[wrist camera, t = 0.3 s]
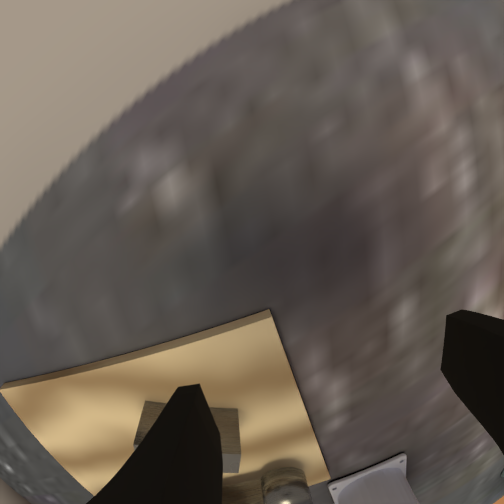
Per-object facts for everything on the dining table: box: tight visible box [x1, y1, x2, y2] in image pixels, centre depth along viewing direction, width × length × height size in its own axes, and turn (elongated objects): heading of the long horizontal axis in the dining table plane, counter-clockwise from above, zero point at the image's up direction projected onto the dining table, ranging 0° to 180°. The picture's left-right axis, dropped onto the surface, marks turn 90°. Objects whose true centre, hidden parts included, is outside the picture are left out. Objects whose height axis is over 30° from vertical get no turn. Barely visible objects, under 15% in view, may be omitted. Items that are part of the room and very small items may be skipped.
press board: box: [0, 309, 331, 496], centre depth 20 cm, size 18×22×1 cm
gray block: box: [133, 400, 241, 473], centre depth 17 cm, size 2×6×4 cm, turn 84°
